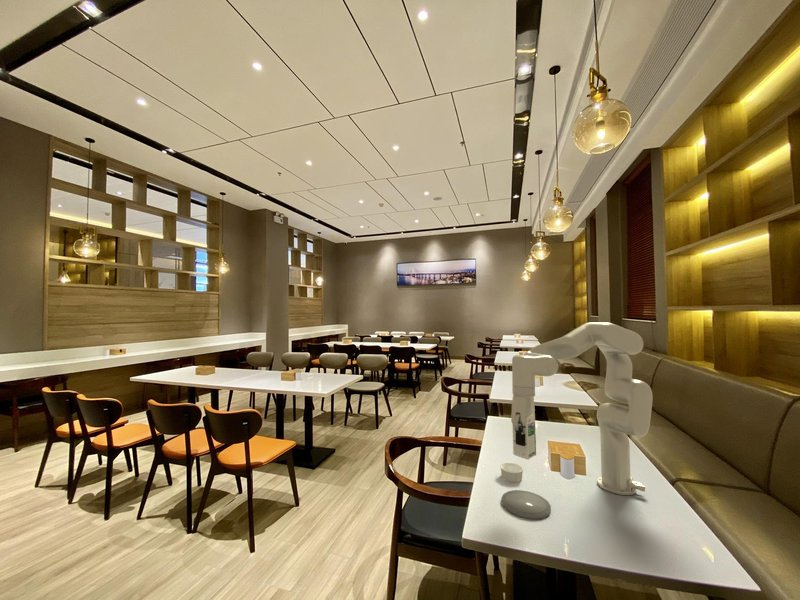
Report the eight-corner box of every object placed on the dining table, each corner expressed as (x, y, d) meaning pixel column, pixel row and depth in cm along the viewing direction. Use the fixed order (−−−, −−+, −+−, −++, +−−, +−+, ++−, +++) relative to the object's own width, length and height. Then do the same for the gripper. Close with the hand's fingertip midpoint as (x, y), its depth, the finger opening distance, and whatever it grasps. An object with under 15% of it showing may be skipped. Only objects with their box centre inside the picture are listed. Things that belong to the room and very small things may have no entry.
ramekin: (525, 484, 130) (524, 473, 130) (501, 482, 132) (501, 471, 132) (521, 474, 138) (521, 463, 139) (499, 471, 140) (499, 461, 140)
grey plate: (557, 504, 116) (557, 501, 116) (541, 526, 104) (540, 522, 104) (512, 488, 126) (512, 485, 126) (493, 506, 115) (493, 502, 115)
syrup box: (528, 460, 112) (527, 416, 113) (512, 454, 116) (511, 412, 117) (536, 455, 116) (535, 413, 116) (520, 450, 120) (520, 409, 121)
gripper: (522, 385, 126) (523, 433, 125) (502, 393, 113) (503, 446, 112) (543, 388, 121) (544, 438, 120) (524, 396, 108) (525, 452, 107)
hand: (524, 441), depth 116 cm, fingers closed on syrup box, 6 cm apart
